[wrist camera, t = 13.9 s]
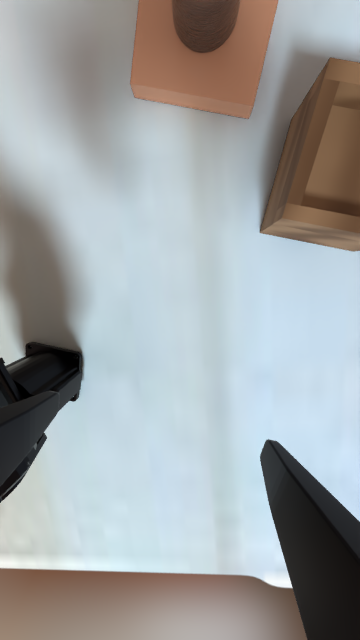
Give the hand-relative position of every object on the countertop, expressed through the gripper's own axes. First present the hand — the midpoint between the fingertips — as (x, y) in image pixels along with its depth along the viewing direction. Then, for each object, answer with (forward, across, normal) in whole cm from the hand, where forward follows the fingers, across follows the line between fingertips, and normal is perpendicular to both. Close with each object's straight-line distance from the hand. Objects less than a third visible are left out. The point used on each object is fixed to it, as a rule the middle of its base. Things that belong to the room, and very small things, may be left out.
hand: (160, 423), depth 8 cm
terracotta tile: (+13, +3, -25) cm, 28 cm away
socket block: (+13, -10, -16) cm, 23 cm away
